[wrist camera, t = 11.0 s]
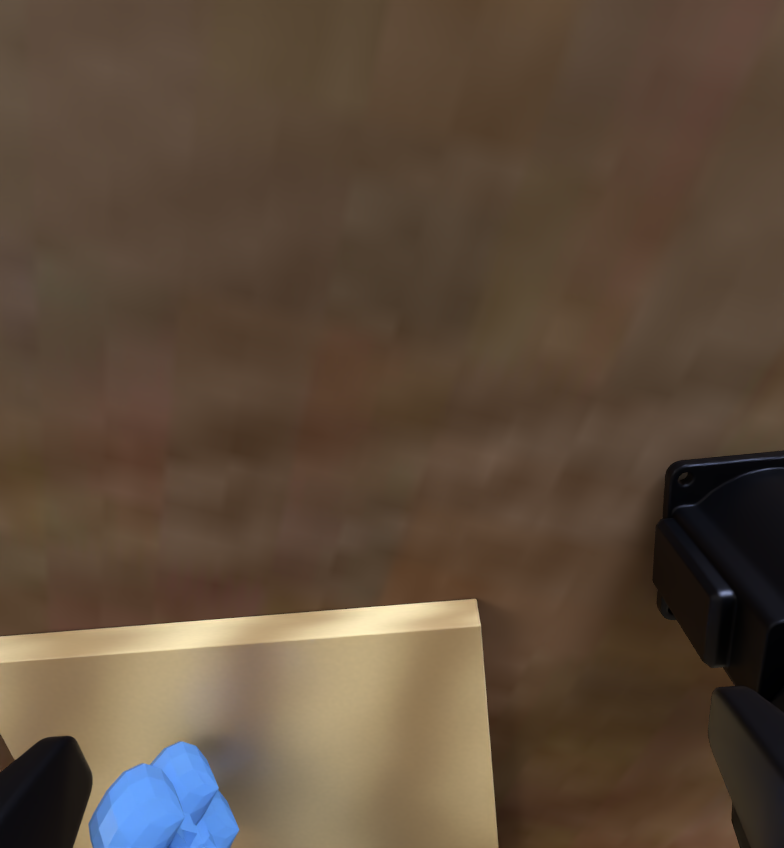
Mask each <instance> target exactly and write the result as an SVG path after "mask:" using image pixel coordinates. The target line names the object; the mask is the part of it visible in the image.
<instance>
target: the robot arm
mask: <svg viewBox="0 0 784 848" xmlns="http://www.w3.org/2000/svg"><path fill="white" fill-rule="evenodd" d="M685 472H688V475H687V477H686V478H684V479H682V480H678V478H679V476H680V475H681V474H682V473H685ZM653 583H654V584H655V586H656V588H657V589H658V592H657V607H658V609H659V611H660V612H661V614H662V615H663V616H664V618H666V619H669V620H677V621H678V623H679V624H680V626H681V628H682V629H683V631H684V632H685V634H686V636H687V637H688V639H689V640H690V642H691V644H692V645H693V647H694V648H695V650H696V652H697V653H698V655H699V656H700V658H701V660H702V661H703V662H704V663H706V664H707V665H708V666H709V667H710V668H719V667H723V668H724V670H725V672H726V673H727V675H728V676H729V678H730V679H731V681H732V682H733V684H734V685H735V686H730V687H718V688H716V689H715V690H714V691H713V692H712V696H711V706H710V715H709V724H708V738H709V743H710V746H711V749H712V752H713V755H714V757H715V760H716V762H717V765H718V767H719V770H720V772H721V775H722V777H723V780H724V782H725V785H726V787H727V789H728V792H729V794H730V797H731V799H732V824H733V827H734V830H735V833H736V836H737V840H738V843H739V846H740V848H784V451H776V452H765V453H755V454H744V455H734V456H723V457H713V458H702V459H691V460H681V461H677V462H675V463H673V464H672V465H670V467H669V468H668V469H667V471H666V475H665V489H664V504H663V518H662V519H661V520H660V521H659V522H658V524H657V525H656V532H655V548H654V564H653ZM92 785H93V776H92V771H91V769H90V767H89V765H88V763H87V761H86V759H85V757H84V754H83V752H82V750H81V748H80V746H79V744H78V742H77V740H76V739H75V738H74V737H72V736H55V737H47V738H44V739H41V740H40V741H38V742H37V743H36V744H34V745H33V746H32V747H31V748H29V749H28V750H27V751H26V752H25V753H23V754H22V755H21V756H20V757H19V758H17V759H16V760H15V761H14V762H13V763H11V764H10V765H9V766H8V767H6V768H5V769H4V770H3V771H2V772H0V848H73V846H74V843H75V840H76V837H77V834H78V831H79V828H80V825H81V822H82V819H83V816H84V813H85V810H86V806H87V803H88V800H89V797H90V794H91V790H92Z"/></svg>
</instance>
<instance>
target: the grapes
mask: <svg viewBox="0 0 784 848" xmlns="http://www.w3.org/2000/svg"><path fill="white" fill-rule="evenodd" d="M218 788H219V787H218V785H217V782H216V780H215V777H214V775H213V773H212V770H211V768H210V766H209V763H208V761H207V759H206V758H205V757H204V755H203V754H202V753H201V751H200V750H199V749H198V748H197V746H195V745H192V744H189V743H186V742H183V741H179V742H177V743H174V744H172V745H170V746H168V747H166V748H164V749H163V750H162V751H161V752H160V753H159V754H158V756H157V757H156V758H155V759H154V760H153V761H152V763H151V764H150V765H148V764H145V763H141V764H139V765H137V766H134V767H132V768H130V769H128V770H126V771H124V772H123V773H122V774H121V775H120V776H119V777H118V778H117V779H116V781H115V782H114V783H113V784H112V785H111V786H110V787H109V788H108V790H107V791H106V792H105V794H104V796H103V798H102V799H101V801H100V803H99V804H98V806H97V808H96V810H95V811H94V813H93V815H92V817H91V820H90V822H89V824H88V825H89V833H90V840H91V843H92V847H93V848H230V847H231V845H232V843H233V841H234V839H235V837H236V835H237V833H238V831H239V828H238V825H237V823H236V820H235V818H234V816H233V813H232V811H231V809H230V806H229V804H228V802H227V800H226V799H225V798H224V796H223V795H222V794H221V793H220V791H219V790H218Z"/></svg>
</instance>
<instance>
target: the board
mask: <svg viewBox="0 0 784 848" xmlns="http://www.w3.org/2000/svg"><path fill="white" fill-rule="evenodd" d="M0 734H1V735H2V737H3V739H4V741H5V743H6V745H7V747H8V749H9V750H10V752H11V754H12V756H13V758H14V760H16V759H17V758H19V757H20V756H21V755H22V754H23V753H25V752H26V751H27V750H28V749H29V748H31V747H32V746H33V745H34V744H36V743H37V742H38V741H40V740H41V739H44V738H47V737H55V736H72V737H74V738H75V739H76V740H77V742H78V744H79V746H80V748H81V750H82V752H83V754H84V757H85V759H86V761H87V763H88V765H89V767H90V769H91V771H92V776H93V785H92V790H91V794H90V797H89V800H88V803H87V806H86V810H85V813H84V816H83V819H82V822H81V825H80V828H79V831H78V834H77V837H76V840H75V843H74V846H73V848H93V847H92V843H91V840H90V833H89V825H88V824H89V822H90V820H91V817H92V815H93V813H94V811H95V810H96V808H97V806H98V804H99V803H100V801H101V799H102V798H103V796H104V794H105V792H106V791H107V790H108V788H109V787H110V786H111V785H112V784H113V783H114V782H115V781H116V779H117V778H118V777H119V776H120V775H121V774H122V773H123V772H124V771H126V770H128V769H130V768H132V767H134V766H137V765H139V764H141V763H145V764H148V765H150V764H151V763H152V761H153V760H154V759H155V758H156V757H157V756H158V754H159V753H160V752H161V751H162V750H163V749H164V748H166V747H168V746H170V745H172V744H174V743H177V742H179V741H183V742H186V743H189V744H192V745H195V746H197V748H198V749H199V750H200V751H201V753H202V754H203V755H204V757H205V758H206V759H207V761H208V763H209V766H210V768H211V770H212V773H213V775H214V777H215V780H216V782H217V785H218V787H219V788H218V790H219V791H220V793H221V794H222V795H223V796H224V798H225V799H226V800H227V802H228V804H229V806H230V809H231V811H232V813H233V816H234V818H235V820H236V823H237V825H238V828H239V831H238V833H237V835H236V837H235V839H234V841H233V843H232V845H231V847H230V848H499V846H498V833H497V821H496V808H495V796H494V783H493V771H492V758H491V746H490V733H489V721H488V708H487V696H486V683H485V670H484V658H483V645H482V633H481V623H480V617H479V611H478V605H477V600H476V599H467V600H454V601H441V602H429V603H416V604H404V605H391V606H379V607H366V608H353V609H341V610H328V611H316V612H303V613H291V614H278V615H265V616H253V617H240V618H228V619H215V620H203V621H190V622H177V623H165V624H152V625H140V626H127V627H115V628H102V629H89V630H77V631H64V632H52V633H39V634H27V635H14V636H1V637H0Z"/></svg>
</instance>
